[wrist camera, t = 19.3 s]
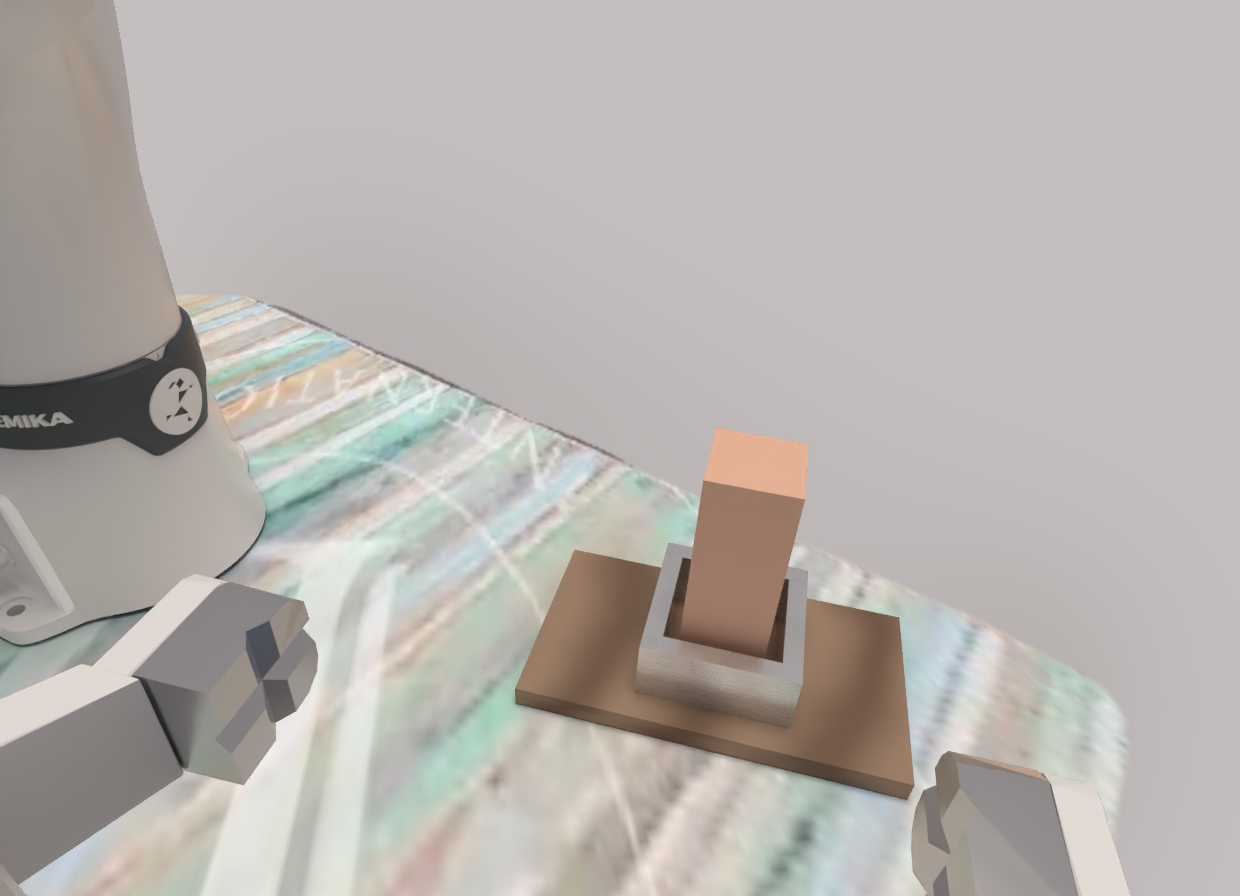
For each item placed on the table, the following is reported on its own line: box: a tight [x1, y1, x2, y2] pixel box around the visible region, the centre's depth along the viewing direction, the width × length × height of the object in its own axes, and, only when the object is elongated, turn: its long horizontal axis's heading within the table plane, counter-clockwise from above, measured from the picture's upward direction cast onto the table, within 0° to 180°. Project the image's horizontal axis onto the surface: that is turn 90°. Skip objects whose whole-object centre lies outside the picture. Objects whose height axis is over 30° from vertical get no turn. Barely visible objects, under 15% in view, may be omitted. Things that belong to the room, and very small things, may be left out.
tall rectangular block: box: [679, 428, 808, 659], centre depth 38 cm, size 4×4×13 cm
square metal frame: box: [635, 543, 808, 728], centre depth 41 cm, size 8×8×4 cm
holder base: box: [515, 550, 914, 799], centre depth 42 cm, size 20×11×1 cm, turn 77°
